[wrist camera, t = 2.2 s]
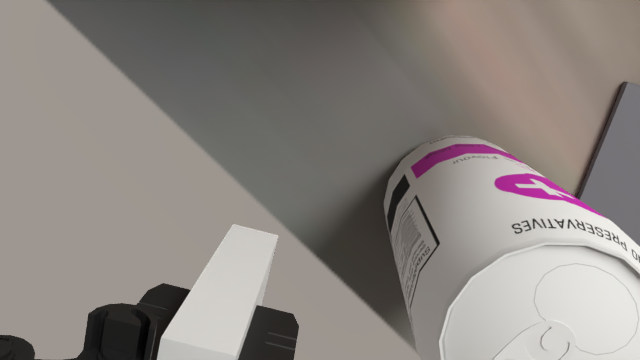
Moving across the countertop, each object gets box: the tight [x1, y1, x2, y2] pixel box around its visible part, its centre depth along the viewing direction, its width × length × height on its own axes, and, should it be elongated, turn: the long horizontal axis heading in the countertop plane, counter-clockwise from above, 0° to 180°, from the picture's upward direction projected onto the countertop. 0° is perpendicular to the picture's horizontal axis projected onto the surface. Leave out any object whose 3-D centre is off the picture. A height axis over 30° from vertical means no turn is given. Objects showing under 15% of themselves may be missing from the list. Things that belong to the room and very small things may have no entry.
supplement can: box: [384, 136, 640, 360], centre depth 23 cm, size 8×8×15 cm
